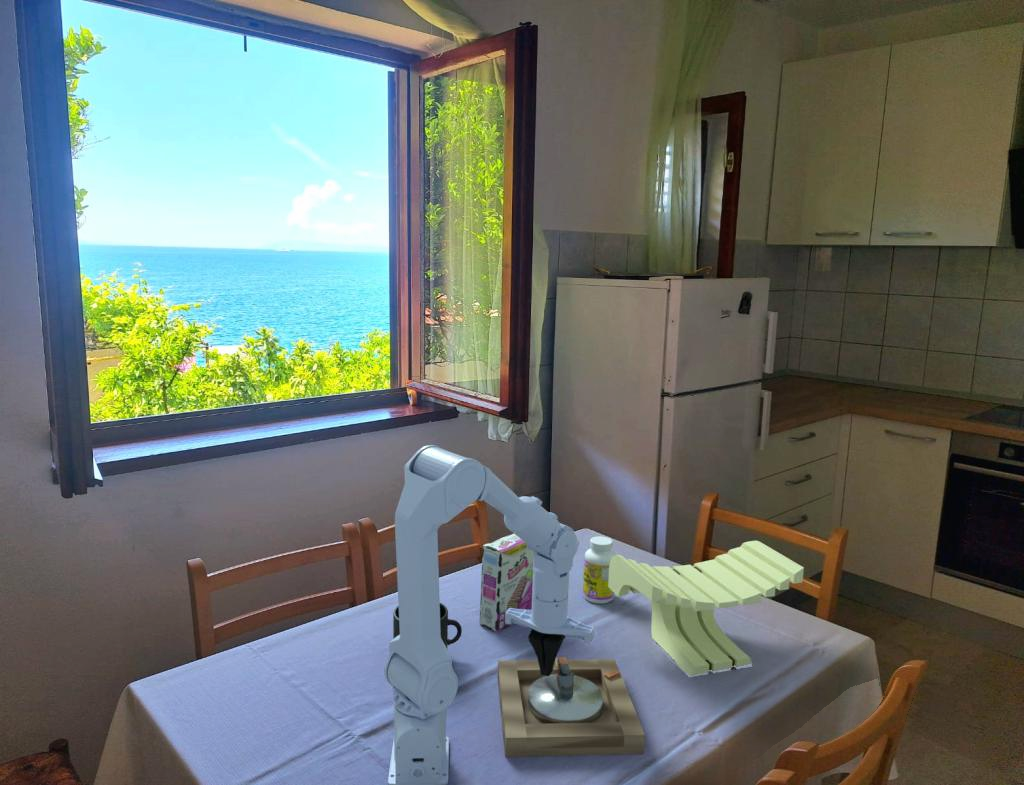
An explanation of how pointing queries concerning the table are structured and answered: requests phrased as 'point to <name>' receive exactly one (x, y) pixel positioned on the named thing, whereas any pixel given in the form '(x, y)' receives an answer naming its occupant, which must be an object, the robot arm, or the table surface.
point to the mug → (443, 625)
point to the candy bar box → (505, 580)
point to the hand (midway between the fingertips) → (546, 672)
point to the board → (538, 738)
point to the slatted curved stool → (704, 600)
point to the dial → (565, 697)
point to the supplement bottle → (598, 571)
